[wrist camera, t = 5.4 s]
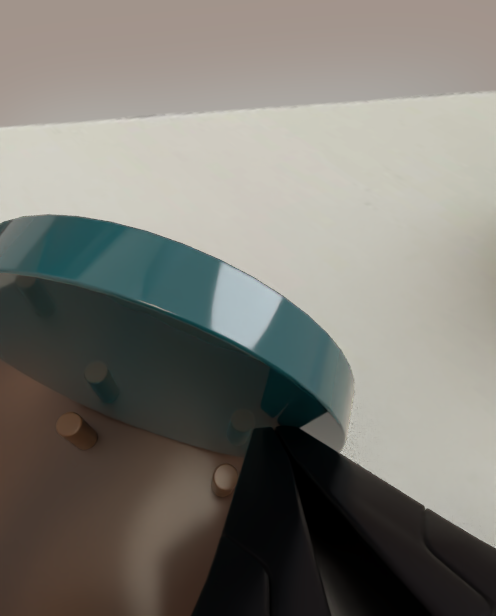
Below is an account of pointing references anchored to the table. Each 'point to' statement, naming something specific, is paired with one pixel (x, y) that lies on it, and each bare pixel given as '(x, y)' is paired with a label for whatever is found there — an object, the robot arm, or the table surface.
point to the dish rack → (137, 411)
